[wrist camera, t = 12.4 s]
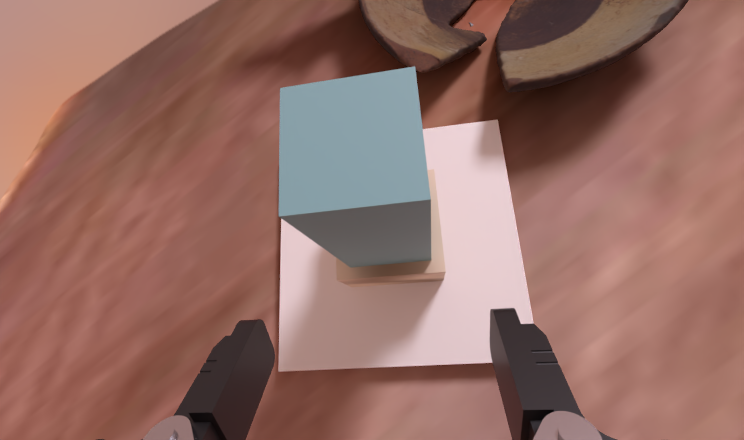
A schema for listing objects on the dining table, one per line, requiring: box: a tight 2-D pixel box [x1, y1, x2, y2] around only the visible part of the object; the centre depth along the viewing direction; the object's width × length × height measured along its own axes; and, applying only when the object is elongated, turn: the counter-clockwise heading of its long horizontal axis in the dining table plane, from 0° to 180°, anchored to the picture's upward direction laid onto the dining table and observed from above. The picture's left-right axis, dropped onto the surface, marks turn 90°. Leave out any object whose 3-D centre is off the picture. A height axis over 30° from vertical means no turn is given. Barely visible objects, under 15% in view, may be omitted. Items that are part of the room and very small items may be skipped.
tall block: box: [279, 66, 431, 268], centre depth 16 cm, size 4×4×10 cm
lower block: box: [336, 169, 446, 287], centre depth 23 cm, size 6×6×4 cm
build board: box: [278, 120, 533, 372], centre depth 25 cm, size 16×16×1 cm
